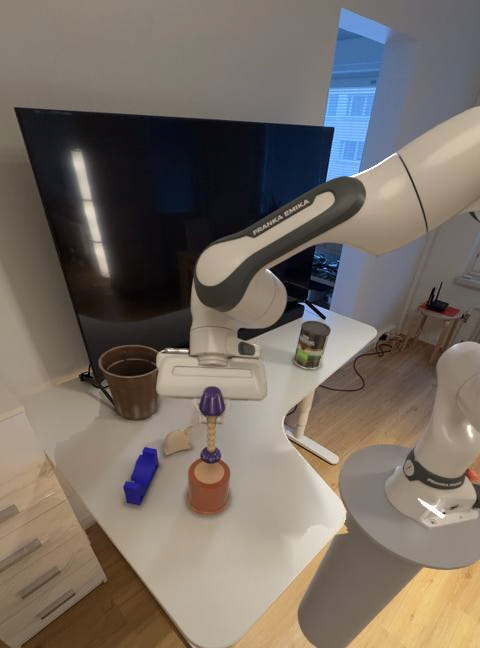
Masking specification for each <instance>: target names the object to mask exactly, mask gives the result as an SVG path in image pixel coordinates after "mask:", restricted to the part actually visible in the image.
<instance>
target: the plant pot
mask: <svg viewBox="0 0 480 648" xmlns="http://www.w3.org/2000/svg"><path fill="white" fill-rule="evenodd" d="M159 352H160V351H158V350H156V349H155V348H152V347H149V346H146V345H141V344H126V345H119V346H116V347H115V346H114V347H112V348H110V349H108V350H107V351H105V352H103V353H102V354H101V355H100V357H99V358H98V367H99V369H100V370H101V371H102V374H103V377H104V379H105V381H106V382H107V385H108V389H109V392H110V395H111V398H112V401H113V405H114V409H115V411H116V413H117V414H118V416H120V417H123V418H125V420H126V419H127V420H130V421H139V420H145V419H147V418H150V417H151V416H152V415H153V414H155V413H157V411H158V409H159V399H160V398H159V397H160V396H159V395H158V394H157V392H156V385H157V377H158V371H159V370H158V369H157V367H156V357H157V354H158V353H159Z"/></svg>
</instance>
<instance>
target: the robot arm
mask: <svg viewBox="0 0 480 648" xmlns="http://www.w3.org/2000/svg"><path fill="white" fill-rule="evenodd" d="M466 213H468V214H469V215H470V217H472V219H474V220H475V221H476V222H478V223H480V105H478V106H474V107H471V108H468V109H466V110H464V111H462V112H460V113H458V114H456V115H454V116H452V117H450V118H448V119H446V120H445V121H443V122H441V123H439V124H437V125H436V126H434V127H432V128H431V129H429V130H428V131H426V132H424V133H422V134H421V135H419V136H418V137H416V138H414V139H413V140H411V141H410V142H408V143H407V144H406V145H404V146H403V147H402V148H400V149H399V150H397V151H396V152H395V153H393V154H392V155H390V156H389V157H387V158H385V159H384V160H383V161H381V162H379V163H378V164H376V165H374V166H372V167H371V168H369V169H366V170H363V171H362V172H360V173H357V174H354V175H342V176H338V177H335V178H331V179H329V180H326V181H325V182H322V183H321V184H318V185H317V186H315V187H314V188H312V189H310V190H308V191H305V192H304V193H303V194H301V195H300V196H298V197H296V198H295V199H293V200H291V201H290V202H287V203H286V204H285V205H283V206H281V207H279V208H278V209H276V210H274V211H273V212H271V213H269V214H268V215H266V216H264V217H263V218H262V219H260V220H258V221H256V222H255V223H253V224H251V225H250V226H248V227H246V228H244V229H242V230H240V231H238V232H235V233H232V234H229V235H227V236H223V237H220V238H219V239H215V241H213V242H211V243H209V244H208V245H207V246H206V247H205V248H204V249H203V250H202V251H201V252H200V254H199V255H198V257H197V259H196V261H195V265H194V268H193V278H192V283H191V290H190V291H191V293H190V314H191V318H192V321H191V326H190V330H189V348H181V347H180V348H172V347H165V348H164V349H161V350H160V351H158V352H159V353H158V354H157V357H156V367H157V369H158V370H159V371H158V377H157V385H156V392H157V394H158V395H159V397H160V398H161V399H173V400H174V399H175V400H176V399H179V400H193V401H192V402H193V403H192V404H193V406H194V409H195V410H196V413H197V414H198V425H199V424H200V425H207V422H208V421H207V416H206V415H204V414H203V413H201V411H200V409H199V404H200V401H201V398H202V395H203V392H204V390H205V389H206V388H207V387H210V386H215V387H218V388H219V389H220V390H221V393H222V396H223V400H224V404H225V410H224V412H223V413H222V414H220V415H218V416H216V425H224V424H225V415H226V414H227V412H228V410H229V409H230V407H231V403H232V401H237V402H238V401H239V402H262V401H263V400H265V398H266V397H267V395H268V379H267V372H266V367H265V364H264V363H263V362H262V360H260V359H261V356H262V347H260V346H259V345H257V344H255V343H253V342H249V341H246V340H244V339H241V338H239V337H238V331H239V330H240V329H246V330H247V329H248V330H261V329H267V328H270V327H272V326H273V325H275V324H276V323H277V322H279V320H280V319H281V318H282V316H283V315H284V313H285V311H286V307H287V304H288V291H287V288H286V286H285V285H284V283H283V282H282V281H281V280H280V279H279V278H278V277H277V276H276V275H275V274H274V273H273V272H272V271H271V270H270V269H271V268H273V267H275V266H277V265H278V264H281V263H282V262H284V261H286V260H288V259H290V258H292V257H293V256H294V255H297V254H299V253H301V252H302V251H304V250H306V249H308V248H310V247H312V246H315V245H319V244H325V243H326V244H327V243H329V244H330V243H332V244H339V245H343V246H347V247H350V248H352V249H354V250H356V251H358V252H361V253H363V254H367V255H372V256H381V255H385V254H388V253H391V252H394V251H396V250H399V249H401V248H403V247H406V246H407V245H409V244H411V243H413V242H414V241H416V240H418V239H420V238H421V237H423V236H425V235H426V234H427V233H430V232H432V231H433V230H434V229H436V228H437V227H439V226H441V225H442V224H444V223H445V222H447V221H448V220H449V219H453V218H455V217H458V216H460V215H463V214H466ZM435 369H436V370H435V371H436V378H437V379H436V380H437V382H436V383H437V385H436V391H435V392H436V393H435V398H434V403H433V406H432V407H433V408H432V411H431V416H430V419H429V421H428V423H427V426H426V428H425V429H424V432H423V433H422V435H421V437H420V438H419V440H418V442H417V443H415V444H414V445H413V447H412V448H411V450H410V452H409V454H408V455H407V457H406V459H405V460H404V462H403V463H402V464H401V465H400V466H398V467H397V468H396V469H395V471H394V474H393V475H392V476H390V477H389V478H388V479H387V480H386V482H385V485H384V490H385V494H386V497H387V498H388V500H389V502H390V503H391V504H392V505H393V506H394V507H395V508H396V509H397V510H398V511H399V512H401V513H402V514H404V515H406V516H408V517H410V518H412V519H414V520H416V521H417V522H418V523H419V524H420V525H422V526H423V527H424V528H426V529H429V530H431V529H436V528H441V527H445V526H450V525H455V524H460V523H464V522H469V521H474V520H476V519H477V518H478V509H477V508H479V509H480V484H479V483H473V482H477V481H478V480H479V479H480V477H479V475H478V474H477V473H476V471H475V470H473V469H470V467H471V466H472V465H473V463H474V461H475V460H476V459H477V458H478V457H479V455H480V343H478V342H475V341H462V342H459V343H456V344H454V345H453V346H451V347H449V348H448V349H446V350H445V351H444V352H443V353H442V354H441V355H440V356H439V358H438V359H437V363H436V367H435ZM432 523H433V524H432Z"/></svg>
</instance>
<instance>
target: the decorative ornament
mask: <svg viewBox="0 0 480 648" xmlns="http://www.w3.org/2000/svg"><path fill="white" fill-rule="evenodd" d="M193 429H194V426H193V425H190V426H188V427H186V429H184V430H180V429H177V430H176V429H175V430H172V431H170V432H169V433H167V434H166V436H165V438H164V446H163V452H164V454H165V455H166V456H168V455H169V456H170V455H171V454H174V453H176V452H179V451H184V450H191V449H192V447H191V444H190V442H189V439H188V435H189V434H190V433H191V432H192V431H193Z"/></svg>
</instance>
